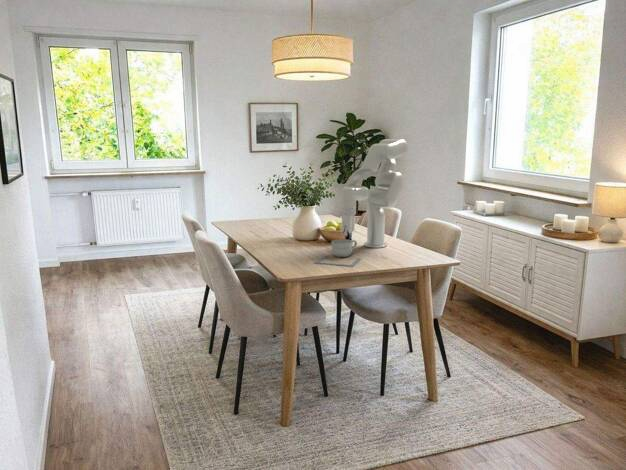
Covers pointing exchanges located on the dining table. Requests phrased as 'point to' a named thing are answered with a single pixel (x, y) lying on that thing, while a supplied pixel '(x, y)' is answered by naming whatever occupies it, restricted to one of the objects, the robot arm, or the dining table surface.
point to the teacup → (342, 247)
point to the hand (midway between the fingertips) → (348, 245)
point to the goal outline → (337, 264)
